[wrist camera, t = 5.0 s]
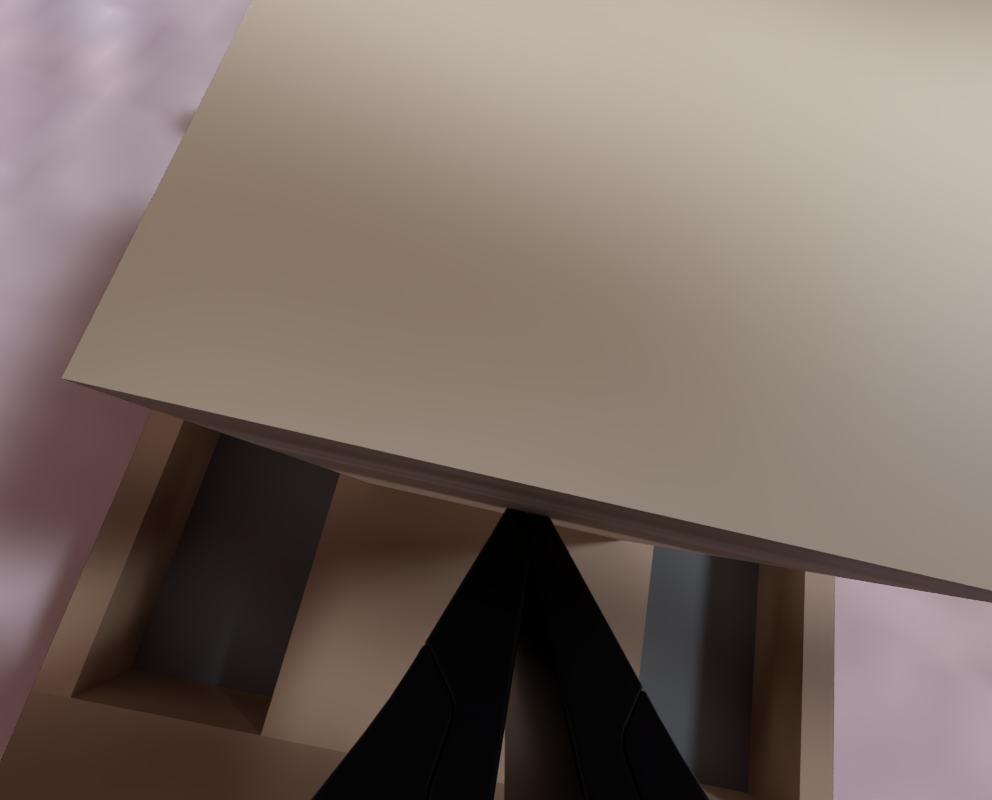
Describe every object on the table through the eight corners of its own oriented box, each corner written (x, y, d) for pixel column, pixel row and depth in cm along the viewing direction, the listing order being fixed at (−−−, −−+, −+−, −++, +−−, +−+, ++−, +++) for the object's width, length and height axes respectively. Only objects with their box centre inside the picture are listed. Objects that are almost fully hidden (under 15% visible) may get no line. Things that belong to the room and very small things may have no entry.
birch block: (622, 540, 14) (1192, 636, 3) (370, 483, 13) (62, 378, 3) (665, 219, 17) (1023, -277, 6) (462, 168, 17) (475, -442, 6)
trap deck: (765, 904, 14) (959, 1149, 9) (61, 769, 13) (-208, 945, 8) (792, 233, 20) (911, 135, 15) (321, 116, 20) (272, -32, 14)
